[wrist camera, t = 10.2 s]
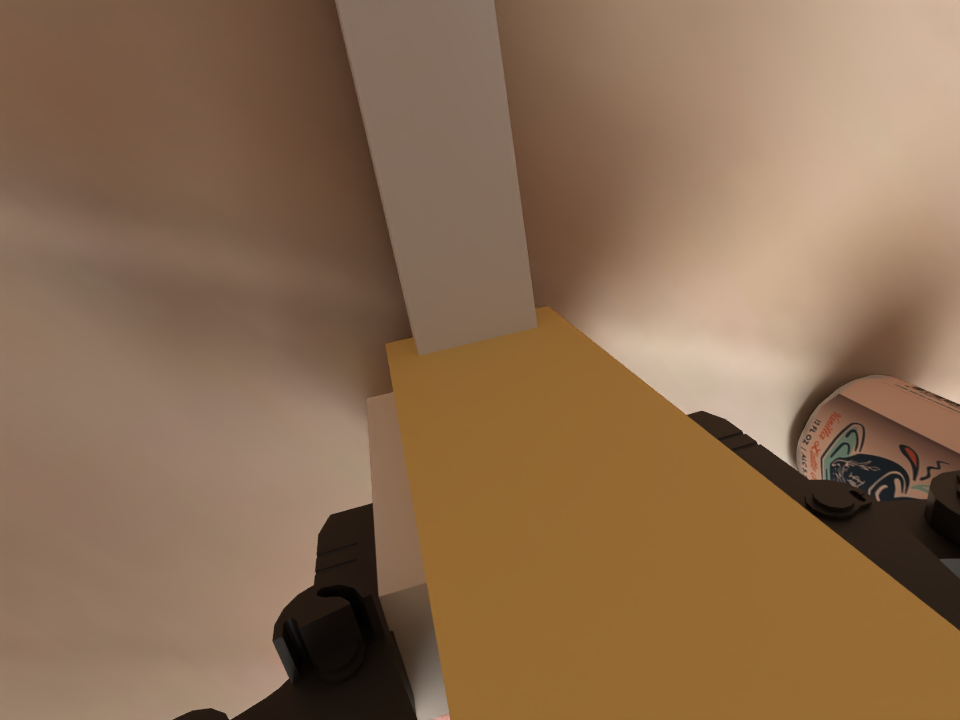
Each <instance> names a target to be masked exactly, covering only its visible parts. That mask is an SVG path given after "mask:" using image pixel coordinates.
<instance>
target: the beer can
mask: <svg viewBox="0 0 960 720" xmlns="http://www.w3.org/2000/svg"><path fill="white" fill-rule="evenodd" d="M796 459H797V466H798V470H799V473H801V474H802V475H804V476H805V477H806V478H808V479H809V480H824V479H827V480H832V481H837V482H843V483H847V484H849V485H852V486H854V487H857V488H859V489H862V490H863V491H865V492H866V493H868V494H869V495H871V496H872V497H873V498H875V499H876V500H877V501H895V500H916V499H927V497H928V492H929V487H930V484H931V480H932V478H934V477H936V476H937V475H939V474H941V473H944V472H951V471H957V470H960V404H957V403H955V402H952V401H950V400H948V399H945V398H943V397H940V396H938V395H936V394H933V393H931V392H928V391H926V390H924V389H921V388H919V387H917V386H914V385H912V384H909V383H907V382H905V381H902V380H900V379H897V378H895V377H892V376H887V375H869V376H866V377H862V378H858V379H855V380H852V381H851V382H849V383H847V384H845V385H843V386H841V387H839V388H838V389H837V390H836V391H834V392H833V393H832V394H831V395H830V396H829V397H827V398H826V399H825V400H824V401H823V402H822V403H820V404H819V405H818V406H817V408H816V409H815V410H814V412H813V413H812V415H811V416H810V418H809V420H808V422H807V424H806V426H805V428H804V430H803V432H802V434H801V436H800V439H799V441H798V446H797V457H796Z"/></svg>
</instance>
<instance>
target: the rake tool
mask: <svg viewBox="0 0 960 720" xmlns="http://www.w3.org/2000/svg"><path fill="white" fill-rule="evenodd" d="M335 4H336V8H337V12H338V16H339V21H340V25H341V29H342V34H343V38H344V42H345V47H346V51H347V55H348V59H349V64H350V68H351V72H352V77H353V81H354V85H355V90H356V94H357V98H358V102H359V107H360V111H361V115H362V120H363V124H364V128H365V133H366V137H367V141H368V145H369V150H370V154H371V158H372V163H373V167H374V171H375V176H376V180H377V184H378V189H379V193H380V197H381V201H382V206H383V210H384V214H385V219H386V223H387V227H388V232H389V236H390V240H391V244H392V249H393V253H394V257H395V262H396V266H397V270H398V275H399V279H400V283H401V287H402V292H403V296H404V300H405V305H406V309H407V313H408V318H409V322H410V326H411V330H412V335H413V337H412V338H408V339H403V340H399V341H395V342H391V343H386V344H385V347H386V353H387V358H388V364H389V370H390V376H391V381H392V387H393V393H394V399H395V404H396V410H397V416H398V422H399V427H400V433H401V439H402V444H403V450H404V456H405V462H406V467H407V473H408V479H409V485H410V490H411V496H412V502H413V508H414V513H415V519H416V525H417V531H418V536H419V542H420V548H421V554H422V559H423V565H424V571H425V576H426V582H427V588H428V594H429V599H430V605H431V611H432V617H433V622H434V628H435V634H436V640H437V645H438V651H439V657H440V663H441V668H442V674H443V680H444V686H445V691H446V697H447V703H448V708H449V714H450V720H960V631H959V630H958V629H957V628H956V627H954V626H953V625H952V624H951V623H949V622H948V621H947V620H946V619H944V618H943V617H942V616H940V615H939V614H938V613H937V612H935V611H934V610H933V609H932V608H930V607H929V606H928V605H927V604H925V603H924V602H923V601H921V600H920V599H919V598H918V597H916V596H915V595H914V594H913V593H911V592H910V591H909V590H908V589H906V588H905V587H904V586H902V585H901V584H900V583H899V582H897V581H896V580H895V579H894V578H892V577H891V576H890V575H888V574H887V573H886V572H885V571H883V570H882V569H881V568H880V567H878V566H877V565H876V564H875V563H873V562H872V561H871V560H869V559H868V558H867V557H866V556H864V555H863V554H862V553H861V552H859V551H858V550H857V549H856V548H854V547H853V546H852V545H850V544H849V543H848V542H847V541H845V540H844V539H843V538H842V537H840V536H839V535H838V534H837V533H835V532H834V531H833V530H831V529H830V528H829V527H828V526H826V525H825V524H824V523H823V522H821V521H820V520H819V519H818V518H816V517H815V516H814V515H812V514H811V513H810V512H809V511H807V510H806V509H805V508H804V507H802V506H801V505H800V504H799V503H797V502H796V501H795V500H793V499H792V498H791V497H790V496H788V495H787V494H786V493H785V492H783V491H782V490H781V489H779V488H778V487H777V486H776V485H774V484H773V483H772V482H771V481H769V480H768V479H767V478H766V477H764V476H763V475H762V474H760V473H759V472H758V471H757V470H755V469H754V468H753V467H752V466H750V465H749V464H748V463H747V462H745V461H744V460H743V459H741V458H740V457H739V456H738V455H736V454H735V453H734V452H733V451H731V450H730V449H729V448H728V447H726V446H725V445H724V444H722V443H721V442H720V441H719V440H717V439H716V438H715V437H714V436H712V435H711V434H710V433H709V432H707V431H706V430H705V429H703V428H702V427H701V426H700V425H698V424H697V423H696V422H695V421H693V420H692V419H691V418H690V417H688V416H687V415H686V414H684V413H683V412H682V411H681V410H679V409H678V408H677V407H676V406H674V405H673V404H672V403H670V402H669V401H668V400H667V399H665V398H664V397H663V396H662V395H660V394H659V393H658V392H657V391H655V390H654V389H653V388H651V387H650V386H649V385H648V384H646V383H645V382H644V381H643V380H641V379H640V378H639V377H638V376H636V375H635V374H634V373H632V372H631V371H630V370H629V369H627V368H626V367H625V366H624V365H622V364H621V363H620V362H619V361H617V360H616V359H615V358H613V357H612V356H611V355H610V354H608V353H607V352H606V351H605V350H603V349H602V348H601V347H600V346H598V345H597V344H596V343H594V342H593V341H592V340H591V339H589V338H588V337H587V336H586V335H584V334H583V333H582V332H581V331H579V330H578V329H577V328H575V327H574V326H573V325H572V324H570V323H569V322H568V321H567V320H565V319H564V318H563V317H561V316H560V315H559V314H558V313H556V312H555V311H554V310H553V309H551V308H550V307H549V306H544V307H540V308H535V302H534V295H533V287H532V280H531V272H530V265H529V257H528V250H527V242H526V235H525V227H524V220H523V212H522V205H521V197H520V190H519V182H518V175H517V167H516V160H515V152H514V145H513V137H512V130H511V122H510V115H509V107H508V100H507V92H506V85H505V77H504V70H503V62H502V55H501V47H500V40H499V33H498V25H497V18H496V10H495V3H494V0H335Z"/></svg>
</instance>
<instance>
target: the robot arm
mask: <svg viewBox="0 0 960 720" xmlns="http://www.w3.org/2000/svg"><path fill="white" fill-rule="evenodd" d="M366 400H367V416H368V432H369V449H370V465H371V481H372V497H373V503H371V504H368V505H364V506H361V507H357V508H353V509H350V510H346V511H342V512H339V513H335V514H332V515H330V516H329V518H328V519H327V521H326V523H325V524H324V526H323V528H322V529H321V531H320V533H319V534H318V545H317V558H316V568H315V572H316V575H315V580H314V585H313V586H311V587H310V588H308V589H307V590H305V591H303V592H302V593H300V594H298V595H297V596H296V597H295V598H294V599H293V600H292V601H291V602H290V603H289V604H288V605H287V606H286V607H285V608H284V609H283V611H282V613H281V614H280V616H279V618H278V620H277V622H276V623H275V625H274V633H273V643H274V645H275V648H276V650H277V652H278V654H279V656H280V659H281V661H282V663H283V665H284V667H285V670H286V672H287V674H288V676H289V679H288V680H287V681H286V682H285V683H284V684H283V685H282V686H281V687H280V688H279V689H278V690H276V691H275V692H273V693H272V694H271V695H269V696H268V697H267V698H265V699H264V700H262V701H260V702H259V703H257V704H256V705H254V706H252V707H251V708H249V709H247V710H246V711H244V712H243V713H241V714H239V715H238V716H236V717H235V718H233V719H231V720H417V717H416V713H417V716H418V719H419V720H431V719H434V718H437V717H440V716H443V715H446V714H449V708H448V703H447V697H446V691H445V686H444V680H443V674H442V668H441V663H440V657H439V651H438V645H437V640H436V634H435V628H434V622H433V617H432V611H431V605H430V599H429V594H428V588H427V582H426V576H425V571H424V565H423V559H422V554H421V548H420V542H419V536H418V531H417V525H416V519H415V513H414V508H413V502H412V496H411V490H410V485H409V479H408V473H407V467H406V462H405V456H404V450H403V444H402V439H401V433H400V427H399V422H398V416H397V410H396V404H395V399H394V393H393V392H391V393H387V394H383V395H379V396H375V397H371V398H367V399H366ZM687 416H688V417H690V418H691V419H692V420H693V421H695V422H696V423H697V424H698V425H700V426H701V427H702V428H703V429H705V430H706V431H707V432H709V433H710V434H711V435H712V436H714V437H715V438H716V439H717V440H719V441H720V442H721V443H722V444H724V445H725V446H726V447H728V448H729V449H730V450H731V451H733V452H734V453H735V454H736V455H738V456H739V457H740V458H741V459H743V460H744V461H745V462H747V463H748V464H749V465H750V466H752V467H753V468H754V469H755V470H757V471H758V472H759V473H760V474H762V475H763V476H764V477H766V478H767V479H768V480H769V481H771V482H772V483H773V484H774V485H776V486H777V487H778V488H779V489H781V490H782V491H783V492H785V493H786V494H787V495H788V496H790V497H791V498H792V499H793V500H795V501H796V502H797V503H799V504H800V505H801V506H802V507H804V508H805V509H806V510H807V511H809V512H810V513H811V514H812V515H814V516H815V517H816V518H818V519H819V520H820V521H821V522H823V523H824V524H825V525H826V526H828V527H829V528H830V529H831V530H833V531H834V532H835V533H837V534H838V535H839V536H840V537H842V538H843V539H844V540H845V541H847V542H848V543H849V544H850V545H852V546H853V547H854V548H856V549H857V550H858V551H859V552H861V553H862V554H863V555H864V556H866V557H867V558H868V559H869V560H871V561H872V562H873V563H875V564H876V565H877V566H878V567H880V568H881V569H882V570H883V571H885V572H886V573H887V574H888V575H890V576H891V577H892V578H894V579H895V580H896V581H897V582H899V583H900V584H901V585H902V586H904V587H905V588H906V589H908V590H909V591H910V592H911V593H913V594H914V595H915V596H916V597H918V598H919V599H920V600H921V601H923V602H924V603H925V604H927V605H928V606H929V607H930V608H932V609H933V610H934V611H935V612H937V613H938V614H939V615H940V616H942V617H943V618H944V619H946V620H947V621H948V622H949V623H951V624H952V625H953V626H954V627H956V628H957V629H958V630H959V631H960V470H957V471H951V472H944V473H941V474H939V475H937V476H936V477H934V478H932V480H931V484H930V487H929V492H928V497H927V499H916V500H895V501H877V500H876V499H875V498H873V497H872V496H871V495H869V494H868V493H866V492H865V491H863V490H862V489H859V488H857V487H854V486H852V485H849V484H847V483H843V482H837V481H832V480H827V479H824V480H809V479H808V478H806V477H805V476H804V475H802V474H801V473H799V472H798V471H797V470H795V469H794V468H793V467H791V466H790V465H788V464H787V463H786V462H784V461H783V460H781V459H780V458H779V457H777V456H776V455H774V454H773V453H772V452H770V451H769V450H768V449H766V448H765V447H763V446H762V445H761V444H760V445H758V444H757V442H756V441H755V440H754V439H752V438H751V437H749V436H748V435H747V434H743V432H742V431H741V430H740V429H738V428H737V427H736V426H734V425H733V424H731V423H730V422H729V421H727V420H726V419H723V418H721V417H718V416H715V415H712V414H709V413H707V412H704V411H699V412H696V413H692V414H689V415H687ZM173 720H229V719H228V717H227V715H226V714H225V713H223V712H220V711H217V710H215V709H212V708H209V709H201V710H193V711H190V712H188V713H186V714H184V715H182V716H180V717H177V718H175V719H173Z"/></svg>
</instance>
